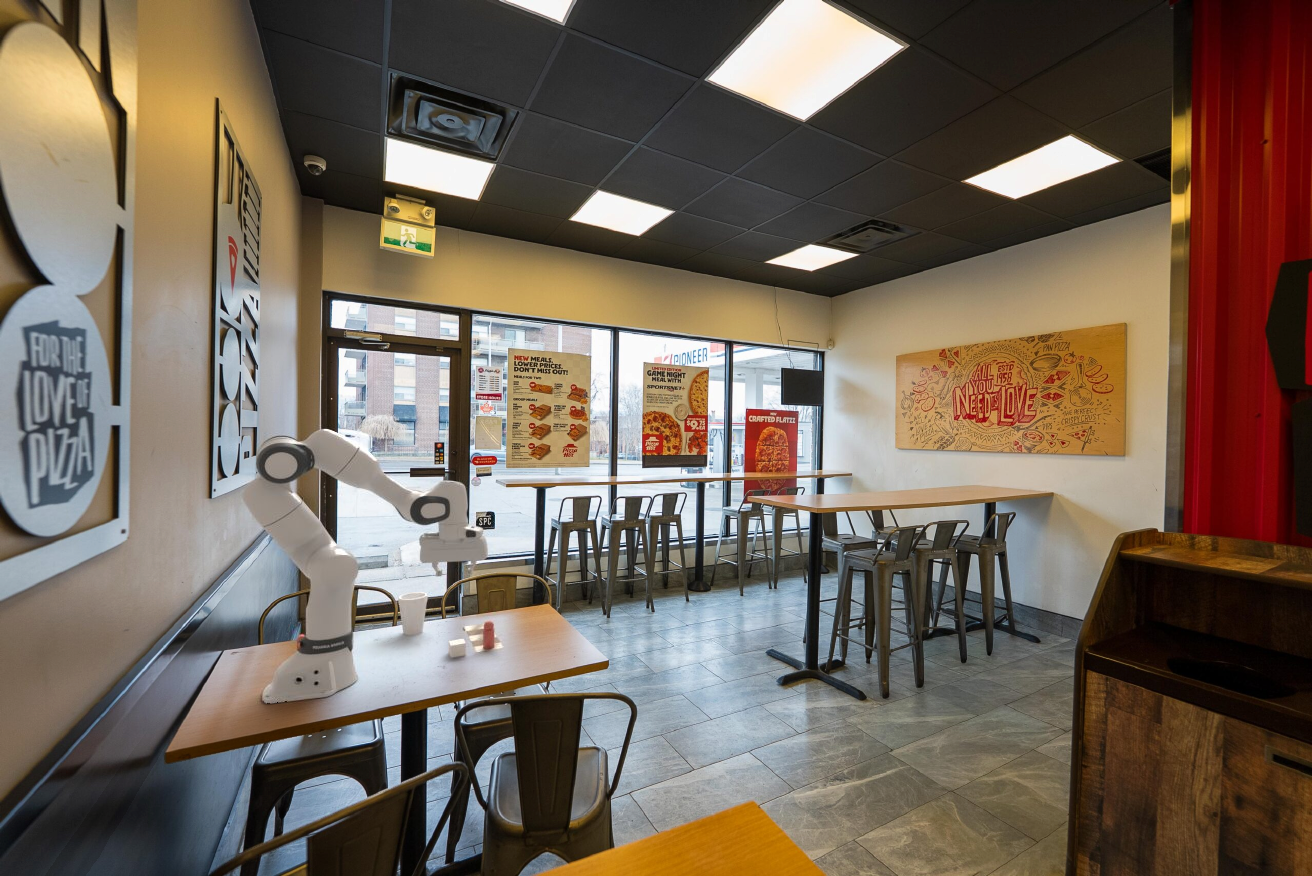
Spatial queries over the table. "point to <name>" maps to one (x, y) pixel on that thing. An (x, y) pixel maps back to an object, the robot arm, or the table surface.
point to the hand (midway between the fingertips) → (454, 575)
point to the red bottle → (488, 635)
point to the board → (480, 637)
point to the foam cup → (412, 612)
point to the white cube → (457, 648)
